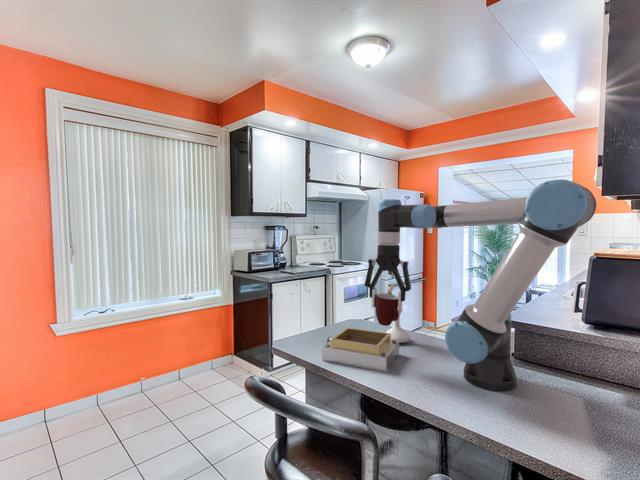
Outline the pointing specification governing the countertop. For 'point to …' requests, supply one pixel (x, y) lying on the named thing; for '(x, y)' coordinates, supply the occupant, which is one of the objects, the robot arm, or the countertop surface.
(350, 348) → the gold rimmed tray box
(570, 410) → the countertop surface
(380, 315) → the mug
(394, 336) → the flower in vase
